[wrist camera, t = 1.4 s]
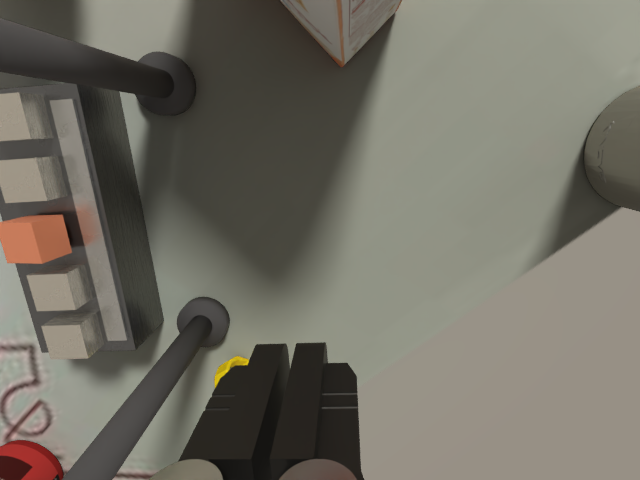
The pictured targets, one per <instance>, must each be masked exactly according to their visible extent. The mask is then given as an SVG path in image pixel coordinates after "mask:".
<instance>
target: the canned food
mask: <svg viewBox="0 0 640 480" xmlns="http://www.w3.org/2000/svg"><path fill="white" fill-rule="evenodd" d="M62 479H63V471H62V468H61V465H60V463H59V461H58V460H57V459H56V457H55V456H54V455H53V454H52V453H51V452H50V451H49V450H47V449H46V448H45V447H43V446H41V445H39V444H37V443H34V442H30V441H25V440H16V441H12V442H9V443H7V444H5V445H3V446H1V447H0V480H62Z"/></svg>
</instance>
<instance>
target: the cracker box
mask: <svg viewBox="0 0 640 480" xmlns="http://www.w3.org/2000/svg"><path fill="white" fill-rule="evenodd" d="M280 1H281V2H282V3H283V4H284V6H285V7H286V8H287V9H288V10H289V11H290V12H291V13H292V15H293V16H294V17H295V18H296V19H297V20H298V21H299V22H300V24H301V25H302V26H303V27H304V28H305V29H306V30H307V31H308V32H309V33H310V34H311V35H312V37H313V38H314V39H315V40H316V41H317V42H318V43H319V44H320V45H321V46H322V47H323V48H324V50H325V51H326V52H327V53H328V54H329V55H330V56H331V57H332V58H333V59H334V61H335V62H336V63H337V64H338V65H339V66H340V67H343V66H344V65H345V64H346V63H347V62H348V61H349V60H350V59H351V58H352V57H353V56H354V55H355V54H356V52H357V51H358V50H359V49H360V48H361V47H362V46H363V45H364V44H365V43H366V42H367V41H368V40H369V39H370V38H371V37H372V36H373V35H374V34H375V33H376V32H377V31H378V30H379V29H380V27H381V26H382V25H383V24H384V23H385V22H386V21H387V20H388V19H389V18H390V17H391V16H392V15H393V14H394V13H395V12H396V11H397V9H398V7H399V5H400V3H401V1H402V0H280Z"/></svg>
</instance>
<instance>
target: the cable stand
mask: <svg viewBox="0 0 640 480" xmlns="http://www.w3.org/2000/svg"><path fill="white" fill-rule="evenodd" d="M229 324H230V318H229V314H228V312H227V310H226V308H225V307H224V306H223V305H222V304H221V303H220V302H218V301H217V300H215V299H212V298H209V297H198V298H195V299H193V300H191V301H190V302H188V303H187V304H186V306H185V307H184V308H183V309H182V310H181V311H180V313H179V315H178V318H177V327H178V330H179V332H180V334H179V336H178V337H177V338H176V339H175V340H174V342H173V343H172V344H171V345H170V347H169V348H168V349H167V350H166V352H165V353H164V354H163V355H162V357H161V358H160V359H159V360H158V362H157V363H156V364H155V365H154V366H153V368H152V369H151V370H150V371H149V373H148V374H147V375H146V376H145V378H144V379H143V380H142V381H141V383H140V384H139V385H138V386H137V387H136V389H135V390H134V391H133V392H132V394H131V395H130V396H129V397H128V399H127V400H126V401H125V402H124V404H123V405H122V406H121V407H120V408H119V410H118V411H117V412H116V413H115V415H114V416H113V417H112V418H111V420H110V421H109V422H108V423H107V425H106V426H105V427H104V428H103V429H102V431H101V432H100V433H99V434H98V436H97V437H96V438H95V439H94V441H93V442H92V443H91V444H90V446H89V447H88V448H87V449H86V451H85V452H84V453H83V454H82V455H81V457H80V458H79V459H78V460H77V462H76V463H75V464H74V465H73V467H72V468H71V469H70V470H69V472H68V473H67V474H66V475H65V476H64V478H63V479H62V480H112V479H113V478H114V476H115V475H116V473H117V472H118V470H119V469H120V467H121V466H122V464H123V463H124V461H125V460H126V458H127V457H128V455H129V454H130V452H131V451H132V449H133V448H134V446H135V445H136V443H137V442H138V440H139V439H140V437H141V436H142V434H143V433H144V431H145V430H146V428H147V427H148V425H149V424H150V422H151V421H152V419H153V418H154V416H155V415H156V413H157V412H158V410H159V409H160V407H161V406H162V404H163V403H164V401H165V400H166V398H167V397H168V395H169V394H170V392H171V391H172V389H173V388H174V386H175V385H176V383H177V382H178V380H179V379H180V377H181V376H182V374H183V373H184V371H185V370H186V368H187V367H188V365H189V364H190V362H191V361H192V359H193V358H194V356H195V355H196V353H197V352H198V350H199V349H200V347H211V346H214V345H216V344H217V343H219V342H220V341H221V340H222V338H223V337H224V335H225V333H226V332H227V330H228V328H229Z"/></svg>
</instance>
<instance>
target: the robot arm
mask: <svg viewBox="0 0 640 480" xmlns="http://www.w3.org/2000/svg"><path fill="white" fill-rule="evenodd" d="M584 165H585V170H586V174H587V177H588V179H589V181H590V183H591V185H592V187H593V188H594V189H595V190H596V191H597V193H598V194H599V195H600V196H602V197H603V198H604V199H606V200H607V201H609V202H611V203H613V204H616V205H619V206H622V207H625V208H629V209H632V210H636V211H640V86H638V87H636V88H634V89H631V90H629V91H627V92H625V93H624V94H622V95H621V96H620V97H618V98H617V99H615V100H614V101H613V102H612V103H611V104H610V105H609V106H608V107H607V108H606V109H605V110H604V111H603V112H602V113H601V114H600V116H599V117H598V119H597V120H596V122H595V123H594V125H593V126H592V129H591V131H590V133H589V136H588V138H587V142H586V146H585V151H584ZM358 419H359V418H358V398H357V376H356V375H355V373H354V372H353V370H352V369H351V368H350V366H349V365H348V363H328V359H327V347H326V343H297V344H296V347H295V351H294V355H293V360H292V364H291V368H290V365H289V355H288V348H287V345H286V344H257V345H256V346H255V348H254V351H253V353H252V355H251V358H250V360H249V363H248V365H235V366H234V367H233V368H231V369H230V370H229V371H228V372H227V373H226V374H225V375H224V376H222V377H221V378H220V380H219V382H218V384H217V386H216V388H215V390H214V392H213V394H212V397H211V398H210V400H209V402H208V404H207V406H206V409H205V411H203V413H202V415H201V417H200V419H199V421H198V423H197V425H196V427H195V429H194V431H193V433H192V435H191V437H190V439H189V441H188V443H187V445H186V447H185V449H184V451H183V453H182V455H181V457H180V459H179V461H178V462H176V463H174V464H171V465H169V466H167V467H165V468H164V469H162V470H160V471H159V472H157V473H156V474H155V475H153V476H152V477H151V478H150V479H149V480H364V478H363V475H362V472H361V462H360V442H359V441H360V439H359V420H358Z"/></svg>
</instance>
